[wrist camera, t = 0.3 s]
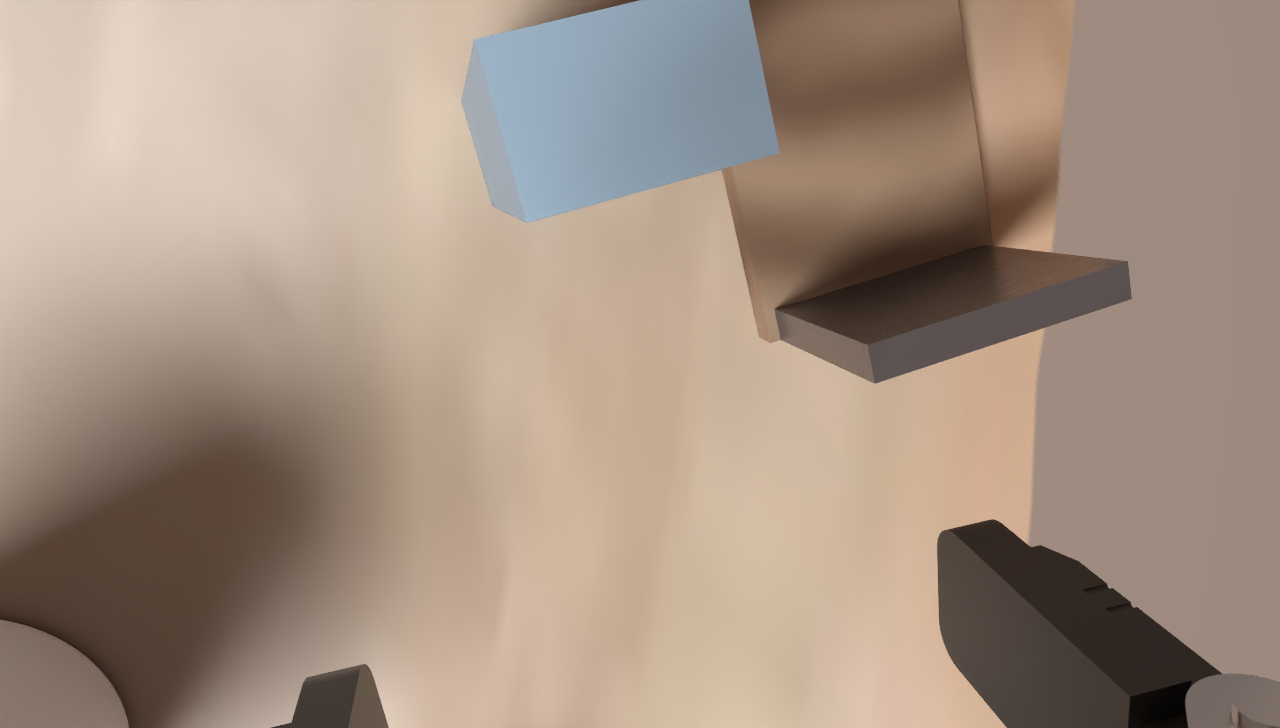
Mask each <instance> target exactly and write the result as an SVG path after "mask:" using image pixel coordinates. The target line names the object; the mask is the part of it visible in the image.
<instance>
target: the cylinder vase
mask: <svg viewBox="0 0 1280 728" xmlns="http://www.w3.org/2000/svg"><path fill="white" fill-rule="evenodd" d="M0 728H129V724H128V720H127V716H126V713H125V710H124V707H123V705H122V702H121V700H120V698H119V696H118V694H117V692H116V691H115V689H114V687H113V686H112V684H111V683H110V681H109V680H108V679H107V677H106V676H105V675H104V674H103V673H102V671H101V670H100V669H99V668H98V667H97V666H96V665H95V664H94V663H93V662H92V661H91V660H89V659H88V658H87V657H86V656H85V655H83V654H82V653H81V652H79V651H78V650H77V649H75V648H74V647H72V646H71V645H69V644H67V643H66V642H64V641H62V640H60V639H58V638H56V637H54V636H52V635H50V634H48V633H45V632H43V631H40V630H38V629H35V628H32V627H29V626H26V625H22V624H18V623H14V622H10V621H4V620H0Z"/></svg>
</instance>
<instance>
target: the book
mask: <svg viewBox="0 0 1280 728" xmlns="http://www.w3.org/2000/svg"><path fill="white" fill-rule="evenodd" d="M461 102H462V105H463V109H464V112H465V115H466V119H467V122H468V125H469V129H470V132H471V135H472V139H473V142H474V146H475V149H476V152H477V156H478V159H479V162H480V166H481V169H482V172H483V176H484V179H485V183H486V186H487V189H488V193H489V196H490V199H491V203H492V206H493V207H495V208H497V209H499V210H501V211H503V212H505V213H507V214H509V215H512V216H514V217H516V218H518V219H520V220H522V221H524V222H526V223H529V222H532V221H536V220H540V219H543V218H547V217H550V216H554V215H558V214H561V213H565V212H569V211H572V210H576V209H579V208H583V207H587V206H590V205H594V204H598V203H601V202H605V201H608V200H612V199H616V198H619V197H623V196H626V195H630V194H634V193H637V192H641V191H645V190H648V189H652V188H655V187H659V186H663V185H666V184H670V183H674V182H677V181H681V180H684V179H688V178H692V177H695V176H699V175H703V174H706V173H710V172H713V171H717V170H721V169H724V168H728V167H731V166H735V165H739V164H742V163H746V162H750V161H753V160H757V159H760V158H764V157H768V156H771V155H775V154H779V153H780V151H779V146H778V141H777V137H776V132H775V127H774V122H773V117H772V112H771V107H770V102H769V97H768V92H767V88H766V83H765V78H764V73H763V68H762V63H761V58H760V53H759V48H758V43H757V39H756V34H755V29H754V24H753V19H752V14H751V9H750V4H749V0H639V1H635V2H631V3H626V4H622V5H618V6H614V7H610V8H605V9H601V10H597V11H593V12H589V13H584V14H580V15H576V16H572V17H568V18H563V19H559V20H555V21H551V22H547V23H543V24H538V25H534V26H530V27H526V28H522V29H517V30H513V31H509V32H505V33H501V34H496V35H492V36H488V37H484V38H480V39H475V40H474V43H473V48H472V53H471V58H470V63H469V67H468V72H467V77H466V82H465V87H464V91H463V96H462V101H461Z"/></svg>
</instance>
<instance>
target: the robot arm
mask: <svg viewBox="0 0 1280 728" xmlns="http://www.w3.org/2000/svg"><path fill="white" fill-rule="evenodd" d="M937 557H938V596H939V624H940V630H941V634H942V638H943V641H944V644H945V647H946V649H947V651H948V654H949V656H950V657H951V659H952V661H953V663H954V664H955V665H956V667H957V668H958V669H959V671H960V672H961V673H962V674H963V675H964V677H965V678H966V679H967V680H968V681H969V683H970V684H971V685H972V686H973V687H974V689H975V690H976V691H977V692H978V693H979V695H980V696H981V697H982V698H983V699H984V701H985V702H986V703H987V704H988V705H989V707H990V708H991V709H992V710H993V711H994V713H995V714H996V715H997V716H998V717H999V719H1000V720H1001V721H1002V722H1003V723H1004V725H1005V726H1006V727H1007V728H1280V682H1277V681H1274V680H1271V679H1268V678H1263V677H1258V676H1254V675H1246V674H1222V673H1221V672H1219V671H1218V670H1217V669H1215V668H1214V667H1213V666H1211V665H1210V664H1209V663H1208V662H1206V661H1205V660H1204V659H1202V658H1201V657H1200V656H1199V655H1197V654H1196V653H1195V652H1194V651H1192V650H1191V649H1190V648H1189V647H1187V646H1186V645H1185V644H1183V643H1182V642H1181V641H1180V640H1178V639H1177V638H1176V637H1174V636H1173V635H1172V634H1171V633H1169V632H1168V631H1167V630H1166V629H1164V628H1163V627H1162V626H1160V625H1159V624H1158V623H1156V622H1155V621H1154V620H1153V619H1151V618H1150V617H1149V616H1148V615H1146V614H1145V613H1144V612H1143V611H1141V610H1140V609H1139V608H1137V607H1136V608H1133V607H1132V605H1131V602H1130V601H1128V600H1127V599H1126V598H1125V597H1123V596H1122V595H1121V594H1120V593H1118V592H1117V591H1116V590H1114V589H1113V588H1111V589H1109V588H1108V586H1107V583H1105V582H1104V581H1103V580H1102V579H1100V578H1099V577H1098V576H1097V575H1095V574H1094V573H1093V572H1091V571H1090V570H1089V569H1088V568H1086V567H1085V566H1084V565H1082V564H1081V563H1080V562H1079V561H1076V560H1074V559H1072V558H1069V557H1067V556H1065V555H1062V554H1060V553H1058V552H1055V551H1053V550H1050V549H1048V548H1046V547H1043V546H1041V545H1040V546H1036V547H1030V546H1028V545H1027V544H1026V543H1025V542H1024V541H1022V540H1021V539H1020V538H1019V537H1018V536H1016V535H1015V534H1014V533H1013V532H1011V531H1010V530H1009V529H1008V528H1007V527H1005V526H1004V525H1003V524H1002V523H1000V522H999V521H996V520H987V521H983V522H979V523H974V524H970V525H966V526H962V527H957V528H953V529H949V530H944V531H942V532H941V533H940V535H939V538H938V542H937ZM272 728H389V727H388V724H387V721H386V718H385V714H384V711H383V708H382V704H381V701H380V698H379V694H378V691H377V688H376V684H375V681H374V678H373V675H372V673H371V670H370V669H369V667H368V666H367V665H366V664H363V665H359V666H354V667H350V668H346V669H341V670H337V671H333V672H329V673H324V674H320V675H316V676H311V677H307V678H306V679H305V681H304V683H303V686H302V689H301V692H300V696H299V699H298V702H297V706H296V709H295V713H294V716H293V720H292V723H288V724H284V725H280V726H276V727H272Z"/></svg>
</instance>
